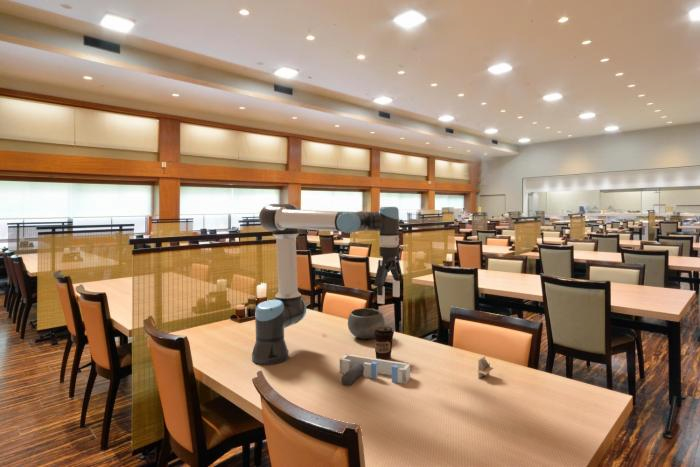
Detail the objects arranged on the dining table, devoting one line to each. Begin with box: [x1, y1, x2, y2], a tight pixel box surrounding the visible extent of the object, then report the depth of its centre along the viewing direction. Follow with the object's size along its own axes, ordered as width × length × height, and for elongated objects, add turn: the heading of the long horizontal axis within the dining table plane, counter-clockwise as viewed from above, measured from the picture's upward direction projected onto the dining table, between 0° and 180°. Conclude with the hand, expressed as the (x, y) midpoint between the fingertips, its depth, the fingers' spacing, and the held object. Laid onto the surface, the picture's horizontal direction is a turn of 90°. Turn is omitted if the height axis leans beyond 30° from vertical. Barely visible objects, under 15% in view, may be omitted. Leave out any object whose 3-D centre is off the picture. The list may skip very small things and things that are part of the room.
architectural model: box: [477, 355, 494, 379], centre depth 146 cm, size 3×7×7 cm, turn 138°
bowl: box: [347, 307, 386, 340], centre depth 193 cm, size 18×18×13 cm
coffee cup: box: [373, 325, 395, 361], centre depth 165 cm, size 9×8×13 cm
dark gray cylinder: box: [340, 363, 364, 387], centre depth 146 cm, size 12×4×4 cm, turn 156°
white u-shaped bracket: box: [339, 353, 411, 385], centre depth 149 cm, size 26×6×6 cm, turn 66°
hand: (388, 300), depth 157 cm, fingers open, 13 cm apart
